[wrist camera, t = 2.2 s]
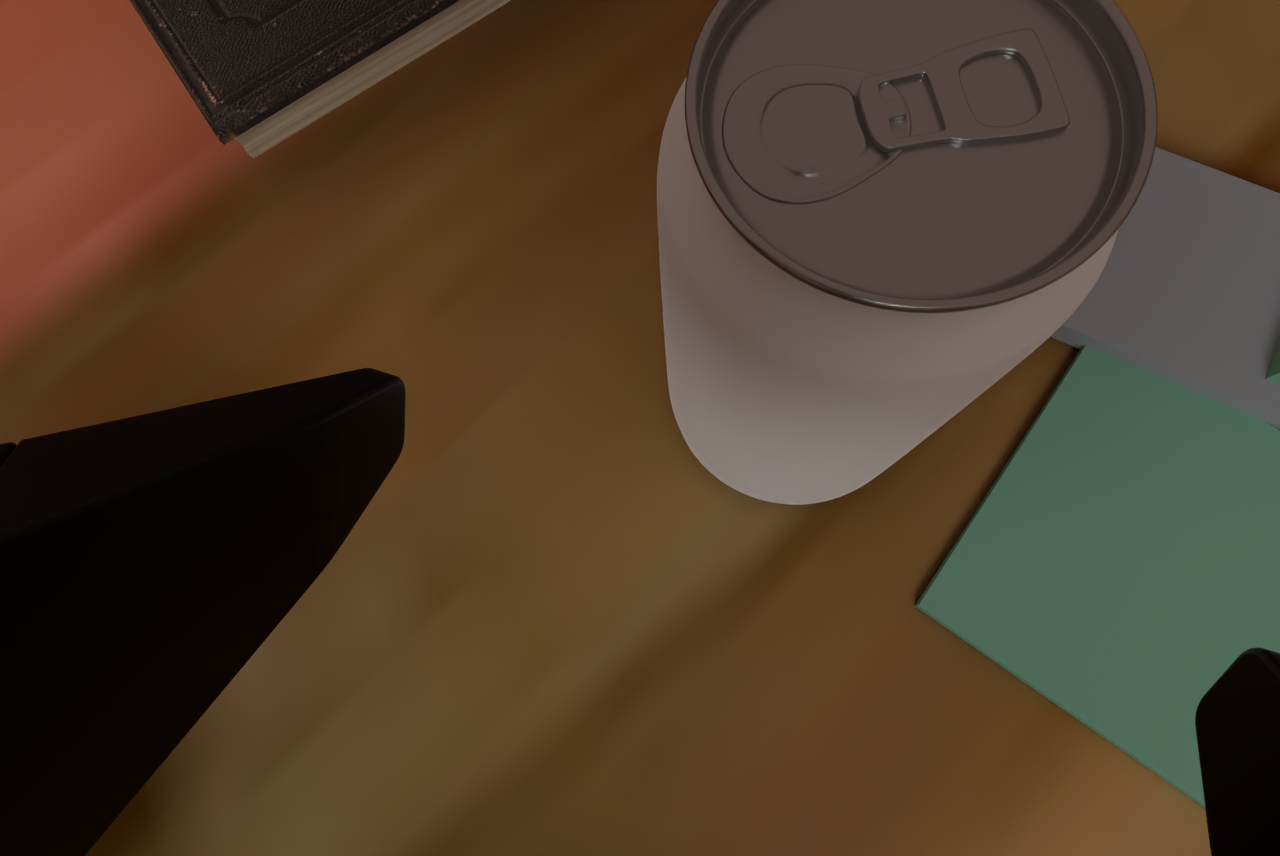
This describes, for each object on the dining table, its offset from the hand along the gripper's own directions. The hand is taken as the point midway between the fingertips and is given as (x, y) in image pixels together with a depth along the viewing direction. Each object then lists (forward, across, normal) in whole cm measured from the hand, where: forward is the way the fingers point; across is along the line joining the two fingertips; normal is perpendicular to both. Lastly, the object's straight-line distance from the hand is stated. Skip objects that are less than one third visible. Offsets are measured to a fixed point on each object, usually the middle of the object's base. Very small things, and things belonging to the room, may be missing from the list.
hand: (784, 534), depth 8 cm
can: (+12, 0, +5) cm, 13 cm away
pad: (+11, -10, +6) cm, 16 cm away
